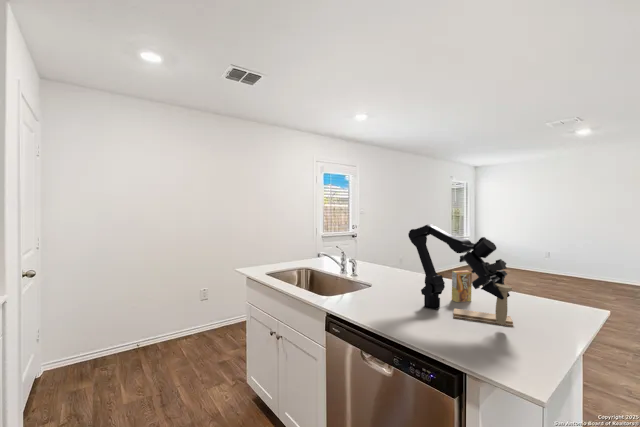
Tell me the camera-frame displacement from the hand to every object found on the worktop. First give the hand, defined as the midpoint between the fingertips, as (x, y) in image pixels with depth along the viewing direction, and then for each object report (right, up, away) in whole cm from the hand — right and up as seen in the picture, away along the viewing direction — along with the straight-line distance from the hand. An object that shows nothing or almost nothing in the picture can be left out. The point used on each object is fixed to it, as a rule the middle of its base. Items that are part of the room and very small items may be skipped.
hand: (505, 297), depth 114 cm
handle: (-1, -11, +1) cm, 11 cm away
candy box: (+1, -13, +38) cm, 40 cm away
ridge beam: (-2, -13, +14) cm, 19 cm away
